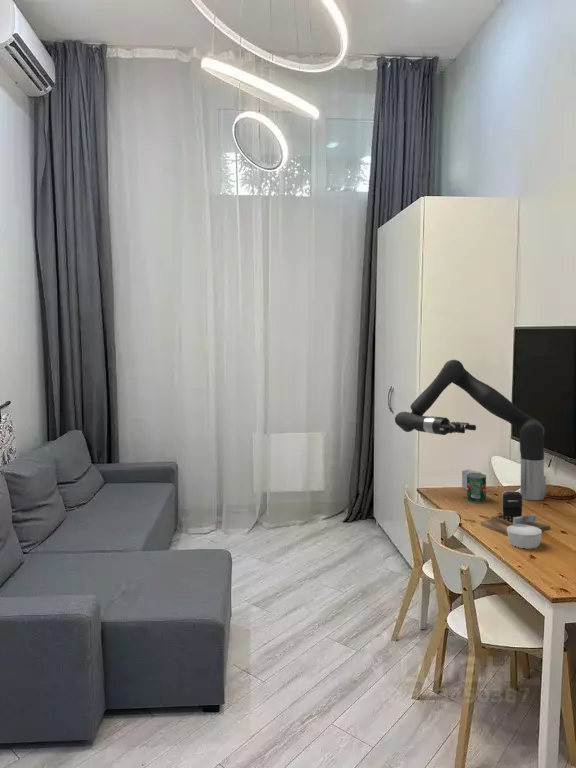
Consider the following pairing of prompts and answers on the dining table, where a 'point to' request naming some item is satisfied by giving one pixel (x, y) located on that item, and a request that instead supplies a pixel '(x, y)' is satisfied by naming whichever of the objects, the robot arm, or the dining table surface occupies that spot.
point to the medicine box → (464, 477)
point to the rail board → (501, 525)
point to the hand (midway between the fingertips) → (470, 429)
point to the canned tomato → (476, 487)
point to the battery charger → (511, 505)
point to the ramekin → (524, 536)
